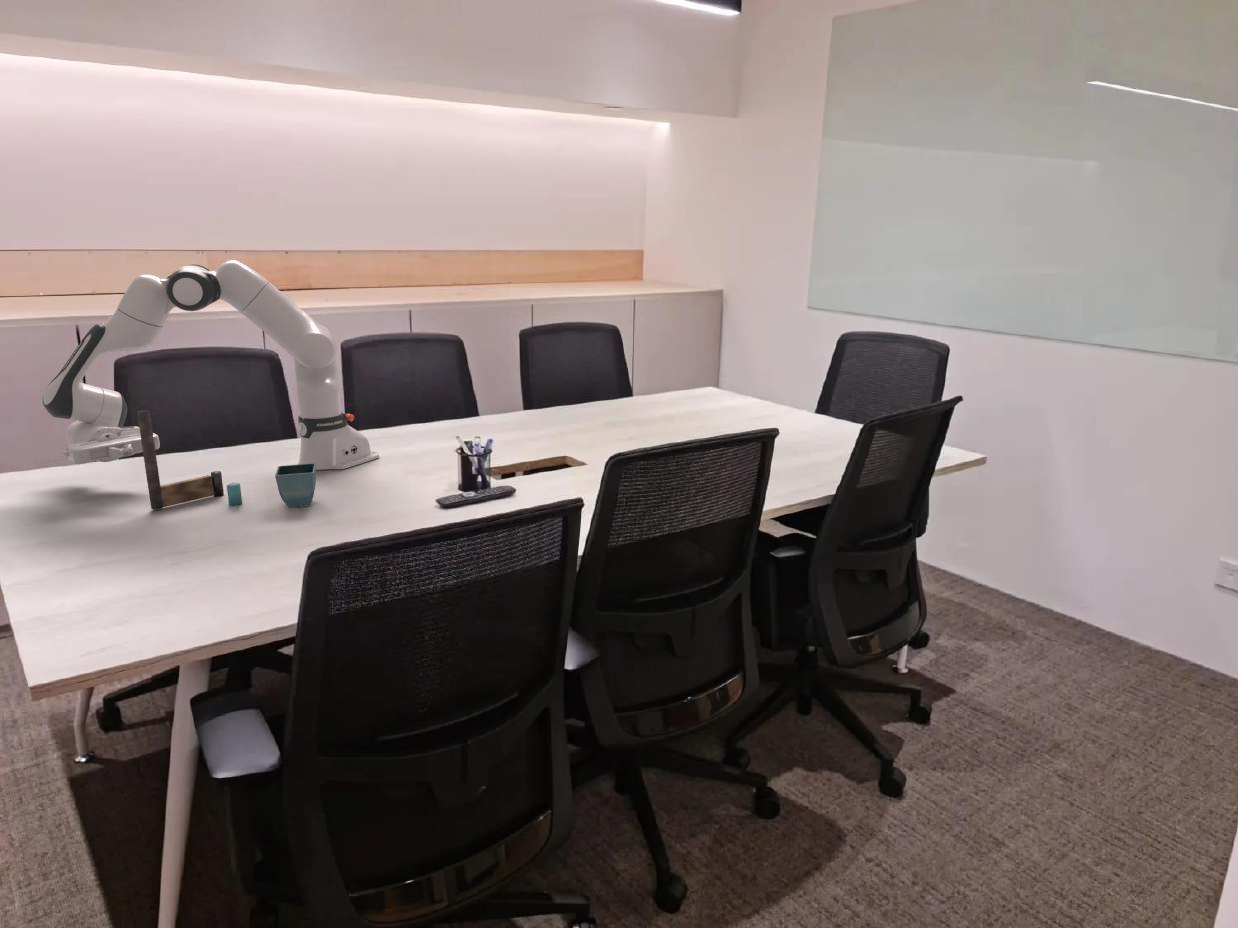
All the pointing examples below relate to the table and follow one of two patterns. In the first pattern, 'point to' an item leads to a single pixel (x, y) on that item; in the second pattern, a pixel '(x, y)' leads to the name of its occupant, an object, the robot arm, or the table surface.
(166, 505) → the brown board with post
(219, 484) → the hinge post
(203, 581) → the table surface
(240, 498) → the post
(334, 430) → the robot arm
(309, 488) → the flower pot
